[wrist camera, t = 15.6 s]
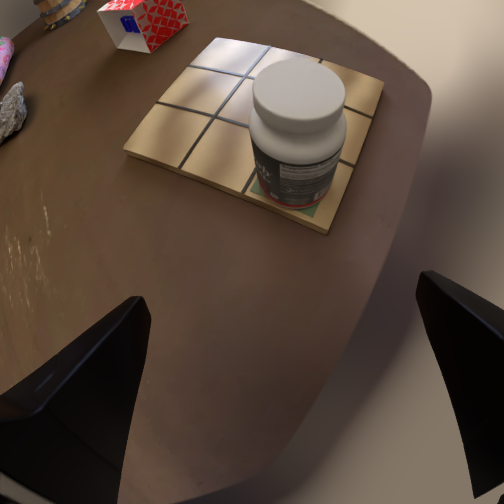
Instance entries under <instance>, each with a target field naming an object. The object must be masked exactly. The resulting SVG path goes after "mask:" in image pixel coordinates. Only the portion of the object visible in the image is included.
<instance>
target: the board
mask: <svg viewBox="0 0 504 504" xmlns="http://www.w3.org/2000/svg"><path fill="white" fill-rule="evenodd" d="M288 59H302V60H309V61H313V62H316V63H319V64H321V65H324V66H325V67H327V68H329V69H330V70H332V71H333V72H334V73H335V74H336V75H338V77H339V78H340V79H341V81H342V82H343V84H344V87H345V92H346V97H345V103H344V108H343V112H344V115H345V118H346V123H347V131H346V138H345V141H344V145H343V148H342V151H341V155H340V158H339V161H338V165H337V168H336V171H335V175H334V178H333V181H332V184H331V187H330V189H329V191H328V193H327V194H326V195H325V197H324V198H323V199H322V200H320V201H319V202H318V203H316V204H314V205H312V206H309V207H306V208H301V209H292V208H286V207H283V206H280V205H278V204H276V203H274V202H273V201H271V200H270V199H269V198H268V197H267V196H266V195H265V194H264V193H263V191H262V190H261V188H260V185H259V182H258V179H257V173H256V167H255V161H254V155H253V149H252V143H251V137H250V132H249V116H250V112H251V110H252V107H253V106H254V104H253V91H252V86H253V82H254V79H255V77H256V76H257V74H258V73H259V72H260V71H261V70H262V69H264V68H265V67H266V66H268V65H270V64H272V63H275V62H278V61H282V60H288ZM383 86H384V82H382V81H380V80H377V79H375V78H372V77H370V76H367V75H365V74H362V73H359V72H357V71H354V70H351V69H348V68H345V67H342V66H339V65H336V64H333V63H330V62H327V61H324V60H323V59H317V58H314V57H310V56H307V55H303V54H299V53H295V52H291V51H287V50H283V49H279V48H274V47H271V46H265V45H260V44H254V43H249V42H243V41H237V40H230V39H223V38H216V39H215V40H213V41H212V42H211V43H210V44H209V45H208V46H207V47H206V48H205V49H204V50H203V51H202V52H201V54H200V55H199V56H198V57H197V58H196V59H195V60H194V61H193V62H192V63H191V64H189V65H188V67H187V68H186V69H185V70H184V72H183V73H182V74H181V75H180V76H179V77H178V78H177V79H176V81H175V82H174V83H173V84H172V85H171V86H170V87H169V89H168V90H167V91H166V92H165V93H164V95H163V96H162V97H161V98H160V99H159V101H157V102H156V104H155V106H154V107H153V108H152V109H151V111H150V112H149V113H148V114H147V116H146V117H145V118H144V120H143V121H142V122H141V124H140V125H139V126H138V128H137V129H136V130H135V132H134V133H133V134H132V136H131V137H130V138H129V140H128V141H127V143H126V144H125V145H124V147H123V150H124V151H125V152H126V153H127V154H128V155H130V156H133V157H136V158H138V159H141V160H144V161H147V162H149V163H152V164H155V165H157V166H160V167H163V168H165V169H168V170H171V171H173V172H176V173H179V174H181V175H184V176H186V177H189V178H191V179H194V180H197V181H199V182H202V183H204V184H207V185H209V186H212V187H214V188H217V189H219V190H222V191H224V192H227V193H229V194H232V195H234V196H236V197H239V198H241V199H244V200H246V201H249V202H251V203H253V204H256V205H258V206H260V207H263V208H265V209H268V210H270V211H272V212H275V213H277V214H279V215H282V216H284V217H286V218H288V219H291V220H293V221H295V222H298V223H300V224H302V225H304V226H307V227H309V228H311V229H313V230H316V231H318V232H320V233H322V234H324V235H327V232H328V230H329V228H330V225H331V223H332V221H333V218H334V216H335V214H336V211H337V209H338V206H339V204H340V202H341V199H342V197H343V194H344V192H345V189H346V187H347V184H348V182H349V179H350V177H351V174H352V172H353V169H354V167H355V164H356V162H357V159H358V156H359V154H360V151H361V148H362V146H363V143H364V140H365V138H366V135H367V132H368V129H369V127H370V124H371V121H372V118H373V116H374V113H375V110H376V107H377V104H378V101H379V98H380V95H381V92H382V89H383Z"/></svg>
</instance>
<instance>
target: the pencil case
mask: <svg viewBox="0 0 504 504" xmlns="http://www.w3.org/2000/svg"><path fill="white" fill-rule="evenodd" d="M13 52H14V44H13V41H12V40H10V38H8V37H5V36H3V37H0V86H1V84H2V81H3V79H4V77H5V74H6V71H7V68H8V65H9V61H10V59H11V57H12V55H13Z"/></svg>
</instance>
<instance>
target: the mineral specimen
mask: <svg viewBox="0 0 504 504" xmlns="http://www.w3.org/2000/svg"><path fill="white" fill-rule="evenodd" d="M23 91H24V86H23V84H22V82H21V81H20V82H19V83H17V84H15V85H14V86H13V87H12V88H11V90H10V91H9V92H8V93H7V95H5V97H4V98H3V100H2V103H0V145H1V143H2V141H3V140H4V139H5V138H6V137H7V136H9V135H11V134H12V133H13V131H14V130H15V131H18V130H20V128H21V126H22V123H23V121H24V120H25V119H26V115H27V114H28V108H27V106H26V102H25V98H24V97H22V96H23Z"/></svg>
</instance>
